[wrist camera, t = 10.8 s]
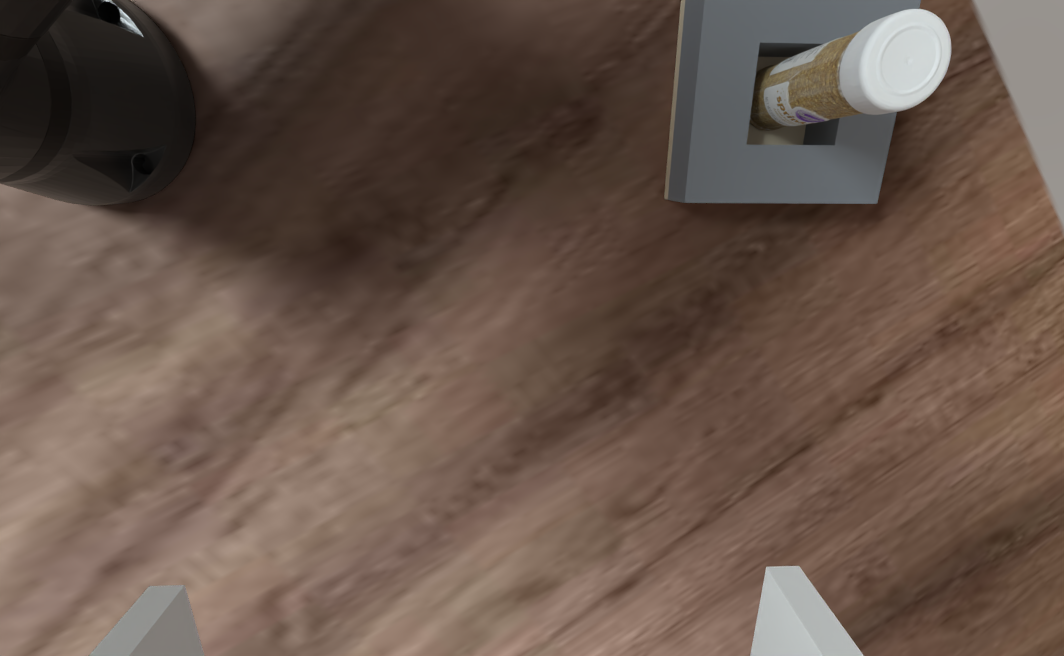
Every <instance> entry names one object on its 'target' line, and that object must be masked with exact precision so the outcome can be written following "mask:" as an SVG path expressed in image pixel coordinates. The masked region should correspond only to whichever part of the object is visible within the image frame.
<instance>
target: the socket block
mask: <svg viewBox="0 0 1064 656" xmlns="http://www.w3.org/2000/svg"><path fill="white" fill-rule="evenodd" d="M920 2H921V0H681V6H680V18H679V30H678V41H677V53H676V65H675V76H674V88H673V100H672V111H671V123H670V135H669V146H668V158H667V169H666V181H665V193H664V199H667V200H672V201H677V202H683V203H823V204H877V202H878V197H879V193H880V188H881V183H882V179H883V174H884V169H885V165H886V160H887V156H888V151H889V146H890V142H891V137H892V132H893V128H894V123H895V118H896V114H897V112H892V113H886V114H879V115H870V114H865V113H862V114H857V115H852V116H847V117H841V118H836V119H830V120H827V121H823V122H817V123H811V124H805V125H799V126H786V127H782V128H779V129H776V130H771V131H764V130H760V129H757V128H755V127H754V126H753V125H752V124H751V123H750V114H751V106H752V99H753V91H754V84H755V76H756V72H758V71H759V70H761V69H763V68H765V67H767V66H770V65H776V64H779V63H781V62H782V61H784V60H786V59H788V58H790V57H793V56H795V55H798V54H800V53H802V52H805V51H807V50H810V49H812V48H815V47H817V46H820V45H822V44H825V43H827V42H830V41H832V40H835V39H838V38H841V37H845V36H848V35H851V34H853V33H856V32H858V31H860V30H861V29H863V28H864V27H865V26H867V25H868V24H870V23H872V22H874V21H876V20H878V19H881V18H883V17H886V16H888V15H891V14H894V13H897V12H900V11H903V10H908V9H919V7H920Z"/></svg>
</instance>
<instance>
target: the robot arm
mask: <svg viewBox="0 0 1064 656" xmlns="http://www.w3.org/2000/svg"><path fill="white" fill-rule="evenodd" d="M194 133H195V106H194V99H193V94H192V90H191V86H190V83H189V80H188V77H187V74H186V72H185V69H184V67H183V65H182V63H181V61H180V59H179V57H178V55H177V53H176V51H175V50H174V48H173V46H172V45H171V43H170V42H169V40H168V39H167V38H166V36H165V35H164V34H163V32H162V31H161V30H160V29H159V28H158V26H157V25H156V24H155V23H154V22H153V21H152V20H151V19H150V18H149V17H148V16H147V15H146V14H145V13H144V12H143V11H142V10H141V9H139V8H138V7H137V6H136V5H134V4H133V3H132V2H130V1H129V0H0V184H4V185H7V186H10V187H14V188H17V189H21V190H24V191H28V192H31V193H35V194H38V195H41V196H45V197H48V198H52V199H55V200H59V201H63V202H67V203H73V204H82V205H109V204H121V203H129V202H134V201H138V200H142V199H144V198H147V197H149V196H151V195H154V194H155V193H157V192H159V191H160V190H162V189H163V188H165V187H166V186H167V185H168V184H169V183H170V182H171V181H172V180H173V179H174V178H175V177H176V176H177V175H178V173H179V172H180V171H181V169H182V168H183V166H184V164H185V162H186V160H187V158H188V156H189V153H190V151H191V147H192V144H193V139H194ZM89 656H204V652H203V649H202V645H201V642H200V638H199V635H198V631H197V627H196V624H195V620H194V617H193V613H192V609H191V606H190V602H189V599H188V595H187V591H186V588H185V585H172V586H149V587H148V588H147V589H146V591H145V592H144V593H143V594H142V595H141V596H140V597H139V599H138V600H137V601H136V602H135V603H134V604H133V606H132V607H131V608H130V609H129V610H128V611H127V612H126V614H125V615H124V616H123V617H122V618H121V619H120V620H119V622H118V623H117V624H116V625H115V626H114V627H113V628H112V630H111V631H110V632H109V633H108V634H107V635H106V637H105V638H104V639H103V640H102V641H101V642H100V643H99V645H98V646H97V647H96V648H95V649H94V650H93V651H92V653H91V654H90V655H89ZM750 656H864V655H863V654H862V653H861V651H860V650H859V648H858V647H857V646H856V644H855V643H854V642H853V640H852V639H851V637H850V636H849V635H848V633H847V632H846V630H845V629H844V628H843V626H842V625H841V624H840V622H839V621H838V619H837V618H836V617H835V615H834V614H833V612H832V611H831V610H830V608H829V607H828V606H827V604H826V603H825V601H824V600H823V599H822V597H821V596H820V594H819V593H818V592H817V590H816V589H815V588H814V586H813V585H812V583H811V582H810V581H809V579H808V578H807V576H806V575H805V574H804V572H803V571H802V570H801V568H800V567H799V566H778V567H766V572H765V577H764V583H763V588H762V594H761V599H760V605H759V610H758V616H757V621H756V627H755V633H754V638H753V644H752V649H751V655H750Z"/></svg>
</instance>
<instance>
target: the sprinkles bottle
mask: <svg viewBox="0 0 1064 656" xmlns="http://www.w3.org/2000/svg"><path fill="white" fill-rule="evenodd" d="M950 56H951V39H950V35H949V32H948V30H947V28H946V26H945V24H944V23H943V21H942V20H941V19H940V18H939V17H938V16H936V15H935V14H933V13H932V12H929V11H926V10H922V9H908V10H903V11H900V12H897V13H894V14H891V15H888V16H886V17H883V18H881V19H878V20H876V21H874V22H872V23H870V24H868V25H867V26H865V27H864V28H863V29H861V30H860V31H858V32H856V33H853V34H851V35H848V36H845V37H841V38H838V39H835V40H832V41H830V42H827V43H825V44H822V45H820V46H817V47H815V48H812V49H810V50H807V51H805V52H802V53H800V54H798V55H795V56H793V57H790V58H788V59H786V60H784V61H782V62H781V63H779V64H776V65H770V66H767V67H765V68H763V69H761V70H759V71H758V72H756V76H755V84H754V91H753V99H752V106H751V114H750V123H751V124H752V125H753V126H754V127H755V128H757V129H760V130H764V131H771V130H776V129H779V128H782V127H786V126H799V125H805V124H811V123H817V122H823V121H827V120H830V119H836V118H841V117H847V116H852V115H857V114H862V113H865V114H870V115H879V114H886V113H892V112H898V111H902V110H906V109H909V108H912V107H914V106H916V105H918V104H919V103H921V102H922V101H924V100H925V99H926V98H928V97H929V96H930V95H931V94H932V93H933V92H934V91H935V89H936V88H937V87H938V85H939V84H940V83H941V81H942V79H943V78H944V76H945V74H946V71H947V69H948V65H949V62H950Z"/></svg>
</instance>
